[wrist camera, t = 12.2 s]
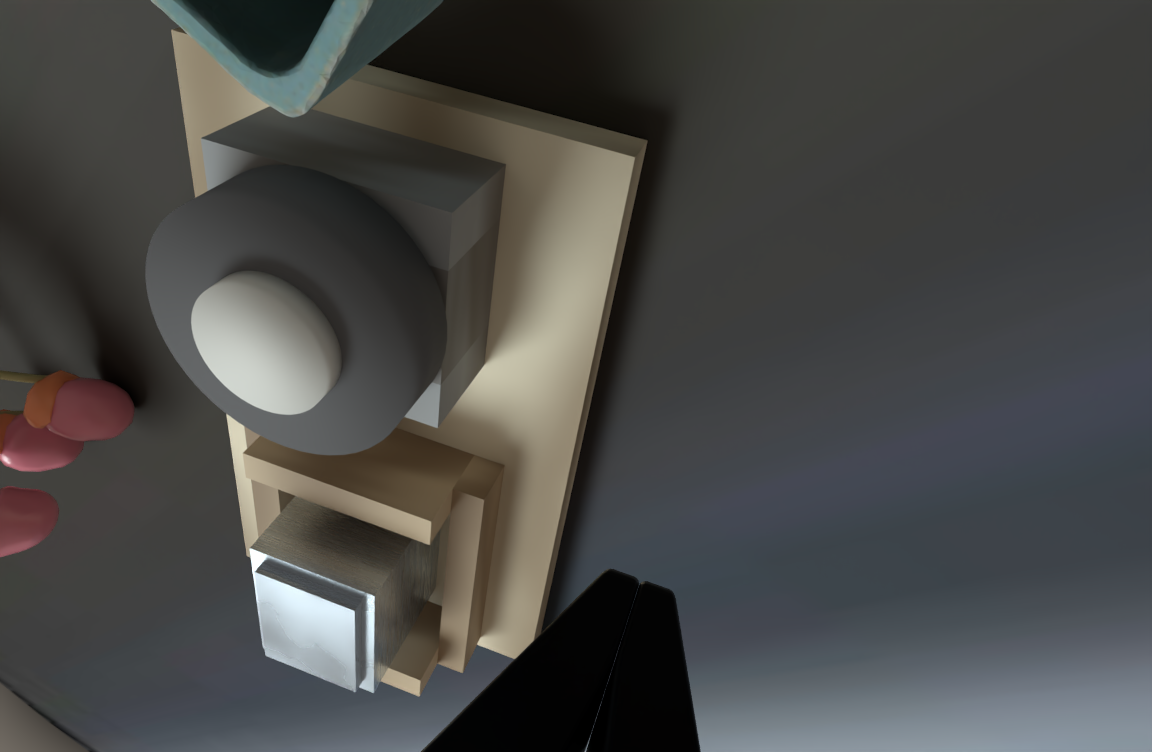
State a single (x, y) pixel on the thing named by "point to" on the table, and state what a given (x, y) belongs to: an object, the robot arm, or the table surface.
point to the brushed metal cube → (338, 592)
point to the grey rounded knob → (298, 308)
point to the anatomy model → (51, 444)
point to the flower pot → (295, 41)
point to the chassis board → (451, 328)
